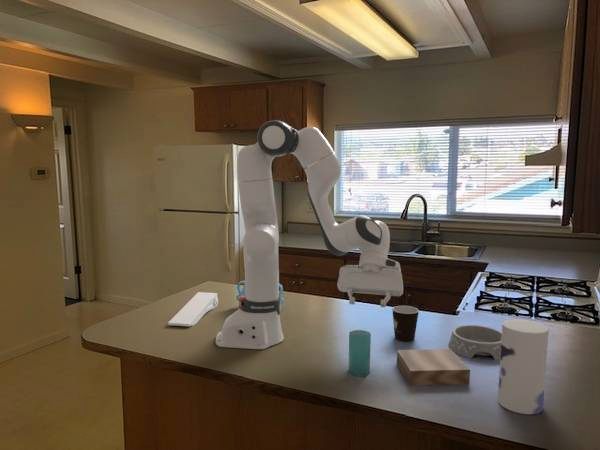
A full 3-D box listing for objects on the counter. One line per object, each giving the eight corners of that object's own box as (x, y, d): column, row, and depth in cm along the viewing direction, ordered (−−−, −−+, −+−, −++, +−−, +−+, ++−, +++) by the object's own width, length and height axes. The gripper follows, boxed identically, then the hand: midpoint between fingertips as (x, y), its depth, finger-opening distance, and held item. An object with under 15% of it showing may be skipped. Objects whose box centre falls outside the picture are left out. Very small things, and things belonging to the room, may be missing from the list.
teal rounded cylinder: (350, 376, 130) (350, 337, 128) (347, 366, 136) (347, 330, 134) (371, 375, 130) (372, 337, 129) (367, 366, 136) (368, 329, 135)
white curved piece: (191, 343, 169) (218, 309, 196) (194, 325, 167) (221, 294, 194) (165, 335, 170) (195, 303, 197) (167, 317, 168) (198, 287, 195)
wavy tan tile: (410, 385, 125) (410, 370, 124) (396, 363, 139) (397, 350, 138) (469, 384, 125) (470, 369, 125) (450, 362, 139) (450, 349, 139)
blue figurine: (271, 301, 201) (271, 270, 199) (286, 312, 186) (286, 278, 185) (234, 306, 194) (234, 273, 192) (247, 317, 179) (246, 282, 178)
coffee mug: (418, 344, 153) (419, 314, 152) (391, 342, 155) (392, 312, 154) (416, 331, 165) (417, 304, 163) (391, 330, 166) (392, 302, 165)
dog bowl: (516, 362, 140) (517, 345, 139) (451, 357, 143) (452, 340, 143) (502, 341, 157) (503, 326, 156) (445, 337, 160) (445, 322, 159)
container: (490, 395, 119) (494, 318, 117) (527, 393, 120) (533, 317, 118) (511, 416, 110) (516, 333, 107) (551, 414, 110) (558, 332, 108)
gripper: (339, 259, 151) (332, 296, 143) (404, 263, 145) (400, 302, 137) (342, 269, 156) (335, 306, 148) (405, 274, 150) (401, 312, 142)
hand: (367, 304), depth 143 cm, fingers open, 8 cm apart
